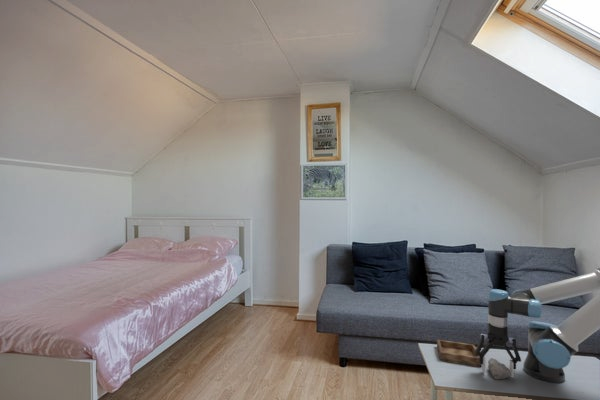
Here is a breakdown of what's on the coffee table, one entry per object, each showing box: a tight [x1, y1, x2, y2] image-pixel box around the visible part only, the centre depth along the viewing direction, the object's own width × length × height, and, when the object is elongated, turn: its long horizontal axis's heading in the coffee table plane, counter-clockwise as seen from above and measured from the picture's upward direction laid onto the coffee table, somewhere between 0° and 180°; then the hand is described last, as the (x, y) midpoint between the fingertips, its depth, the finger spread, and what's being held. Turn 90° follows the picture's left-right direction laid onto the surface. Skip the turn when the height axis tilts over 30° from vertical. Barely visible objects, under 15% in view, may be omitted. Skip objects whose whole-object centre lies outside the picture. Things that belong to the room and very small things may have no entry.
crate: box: [436, 339, 482, 368], centre depth 161 cm, size 18×16×4 cm
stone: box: [487, 357, 510, 380], centre depth 144 cm, size 10×8×6 cm
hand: (497, 373), depth 143 cm, fingers open, 10 cm apart
